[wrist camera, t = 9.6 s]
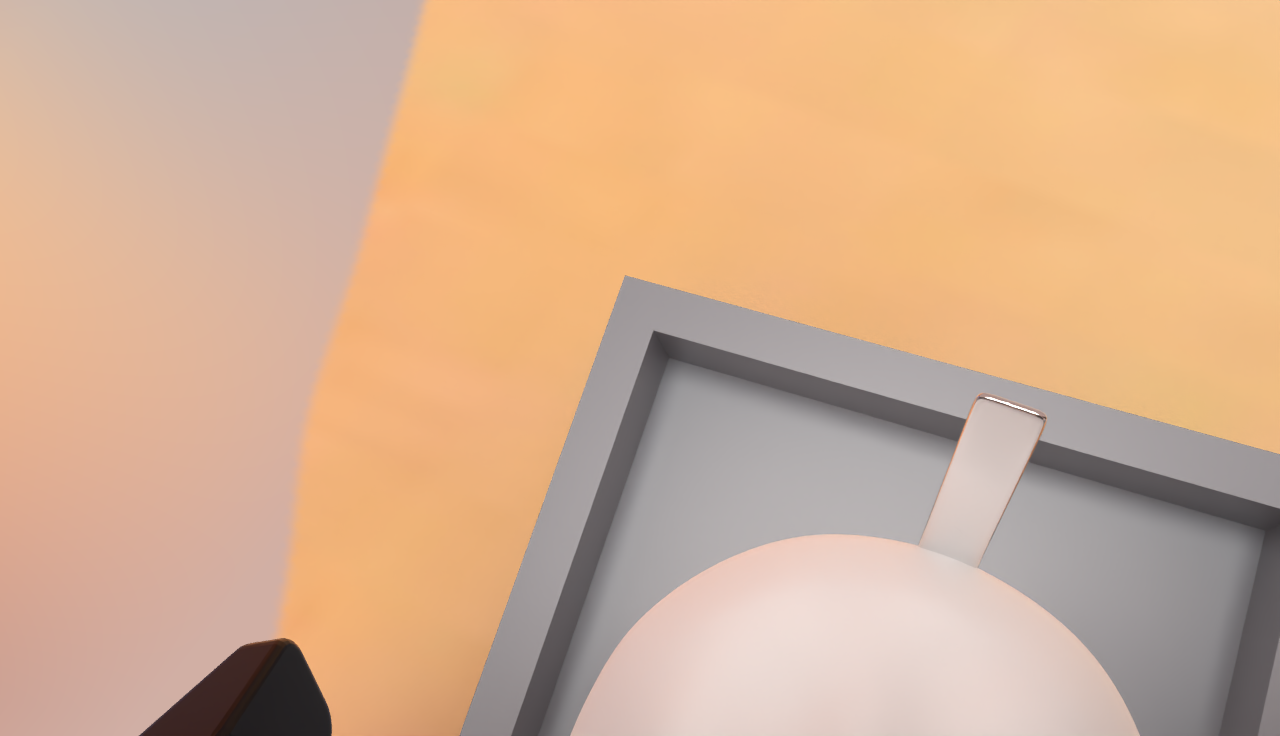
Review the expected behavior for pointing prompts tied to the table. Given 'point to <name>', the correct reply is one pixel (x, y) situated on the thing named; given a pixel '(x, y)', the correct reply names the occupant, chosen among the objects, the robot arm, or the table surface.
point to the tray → (883, 511)
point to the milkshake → (867, 631)
